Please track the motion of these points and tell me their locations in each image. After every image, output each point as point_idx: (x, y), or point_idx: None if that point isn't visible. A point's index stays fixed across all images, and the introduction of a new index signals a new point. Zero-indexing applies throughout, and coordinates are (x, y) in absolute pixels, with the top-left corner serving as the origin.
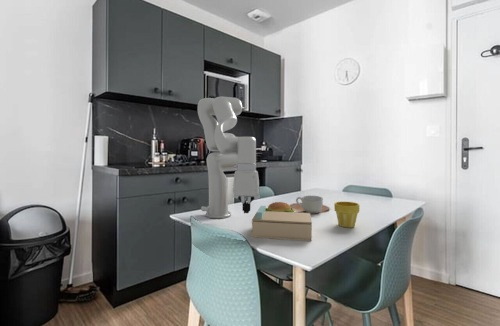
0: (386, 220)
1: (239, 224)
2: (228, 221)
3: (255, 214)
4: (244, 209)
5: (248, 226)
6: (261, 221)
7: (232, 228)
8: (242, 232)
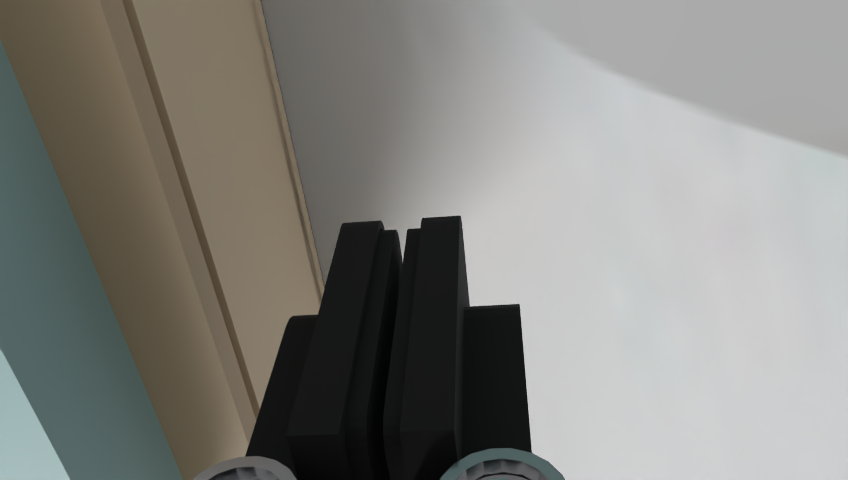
0: None
1: (636, 373)
2: (835, 457)
3: (198, 310)
4: (434, 280)
5: None
6: None
7: (717, 172)
8: (484, 5)
